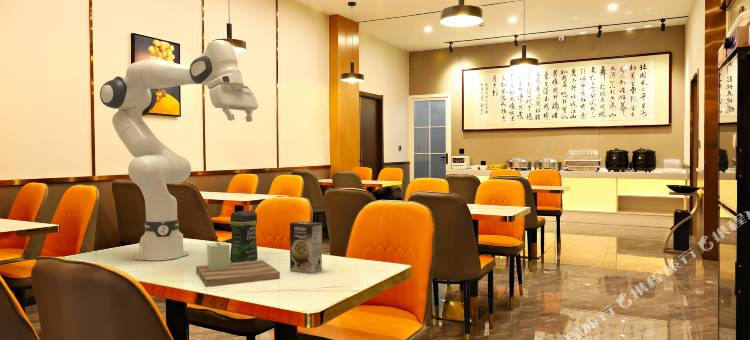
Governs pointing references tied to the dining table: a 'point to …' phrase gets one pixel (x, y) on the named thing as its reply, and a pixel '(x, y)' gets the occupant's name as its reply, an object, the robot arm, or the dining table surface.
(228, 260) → the beige piece
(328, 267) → the dining table surface
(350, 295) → the dining table surface
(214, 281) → the post board
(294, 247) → the coffee box
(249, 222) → the coffee jar
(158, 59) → the robot arm
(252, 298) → the dining table surface
